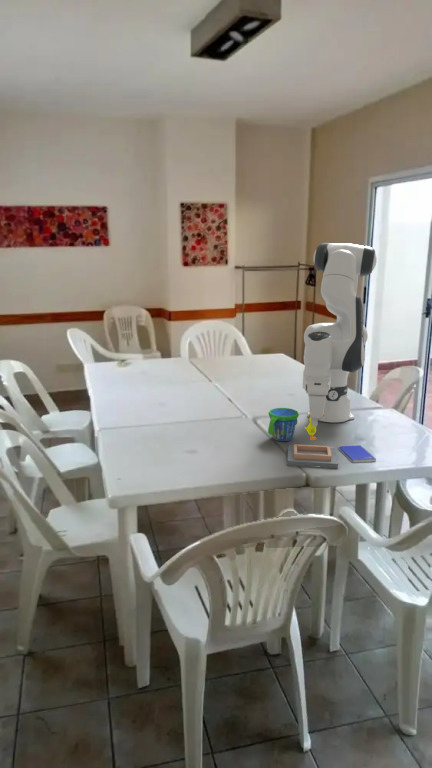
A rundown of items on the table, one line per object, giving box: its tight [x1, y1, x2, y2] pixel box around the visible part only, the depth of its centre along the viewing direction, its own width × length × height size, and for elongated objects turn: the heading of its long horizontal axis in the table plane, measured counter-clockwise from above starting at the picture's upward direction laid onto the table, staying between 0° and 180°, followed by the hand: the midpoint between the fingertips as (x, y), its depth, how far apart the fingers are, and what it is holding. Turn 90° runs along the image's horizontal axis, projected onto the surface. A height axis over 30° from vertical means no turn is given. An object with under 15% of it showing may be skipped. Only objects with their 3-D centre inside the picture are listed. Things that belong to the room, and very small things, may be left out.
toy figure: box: [304, 413, 325, 441], centre depth 184 cm, size 7×4×12 cm, turn 96°
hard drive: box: [338, 445, 377, 464], centre depth 191 cm, size 2×8×12 cm
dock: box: [286, 443, 339, 469], centre depth 187 cm, size 14×16×3 cm
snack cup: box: [267, 407, 299, 442], centre depth 205 cm, size 16×10×10 cm
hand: (314, 424), depth 184 cm, fingers closed on toy figure, 2 cm apart
